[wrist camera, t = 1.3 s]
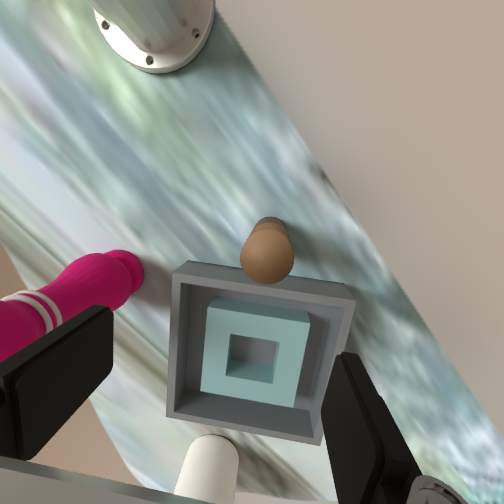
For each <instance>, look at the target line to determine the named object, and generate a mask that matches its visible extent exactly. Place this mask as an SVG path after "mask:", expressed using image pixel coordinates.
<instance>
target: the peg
mask: <svg viewBox="0 0 504 504" xmlns="http://www.w3.org/2000/svg"><path fill="white" fill-rule="evenodd" d="M240 262H241V266H242V269H243V271H244V272H245V274H246V275H247V276H248V277H249V278H250V279H252V280H253V281H255V282H257V283H260V284H274V283H277V282H280V281H281V280H283V279H284V278H286V277H287V276H288V274H289V273H290V271H291V270H292V267H293V264H294V254H293V250H292V247H291V244H290V240H289V237H288V234H287V231H286V227H285V225H284V224H283V222H282V221H281V220H279V219H277V218H275V217H265V218H263V219H261V220H260V221H259V222H258V223H257V224H256V226H255V227H254V229H253V231H252V232H251V234H250V236H249V237H248V239H247V241H246V242H245V244H244V246H243V248H242V250H241V254H240Z"/></svg>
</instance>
